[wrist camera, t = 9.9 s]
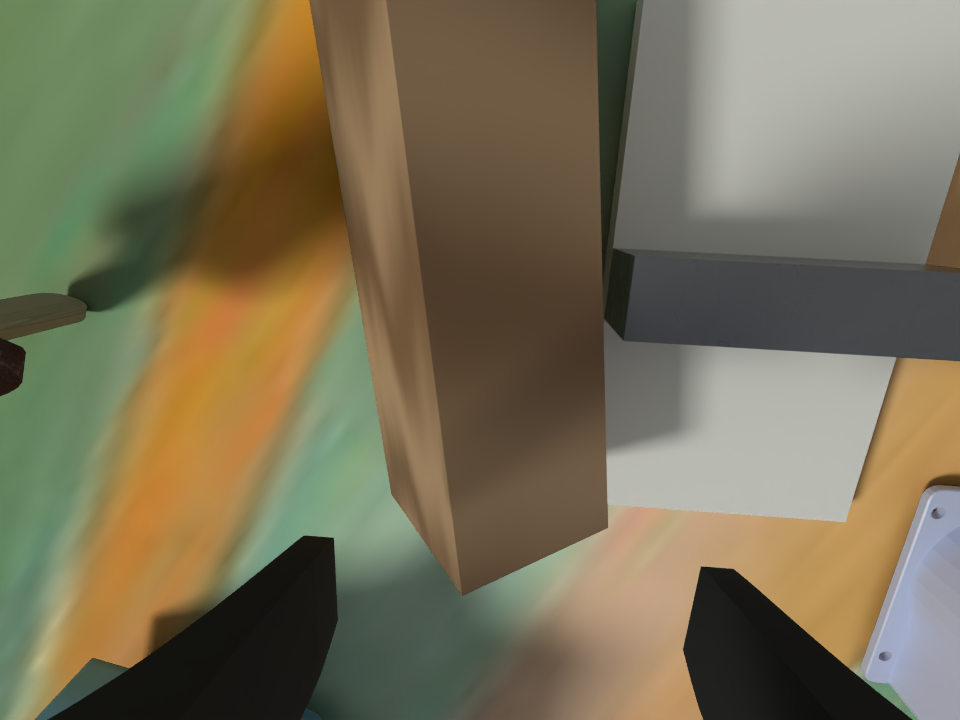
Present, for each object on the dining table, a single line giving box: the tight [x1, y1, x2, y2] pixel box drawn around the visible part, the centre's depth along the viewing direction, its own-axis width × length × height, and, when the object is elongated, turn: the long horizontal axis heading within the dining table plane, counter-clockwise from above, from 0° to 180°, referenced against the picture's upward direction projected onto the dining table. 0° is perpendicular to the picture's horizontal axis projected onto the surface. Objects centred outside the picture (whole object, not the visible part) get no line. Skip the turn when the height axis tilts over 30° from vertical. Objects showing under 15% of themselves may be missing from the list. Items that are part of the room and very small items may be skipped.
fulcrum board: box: [603, 0, 960, 522], centre depth 15 cm, size 17×10×4 cm, turn 177°
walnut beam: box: [309, 0, 608, 596], centre depth 14 cm, size 16×5×6 cm
